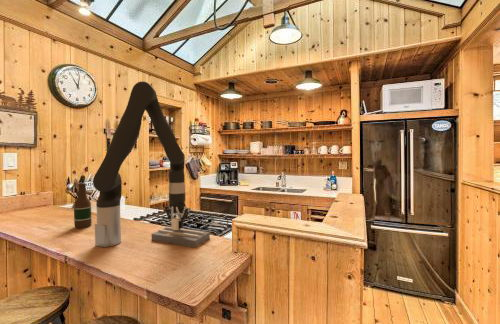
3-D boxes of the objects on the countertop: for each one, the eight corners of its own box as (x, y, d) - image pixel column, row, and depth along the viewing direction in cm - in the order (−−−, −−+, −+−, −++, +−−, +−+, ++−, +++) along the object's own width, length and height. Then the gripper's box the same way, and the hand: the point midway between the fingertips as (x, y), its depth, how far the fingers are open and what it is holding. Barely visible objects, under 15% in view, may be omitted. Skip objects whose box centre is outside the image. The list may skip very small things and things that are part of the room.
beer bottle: (83, 229, 130) (81, 184, 128) (70, 228, 131) (69, 184, 130) (95, 225, 137) (93, 182, 136) (83, 224, 139) (82, 182, 138)
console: (195, 247, 105) (195, 238, 105) (151, 240, 114) (151, 231, 114) (209, 238, 117) (209, 230, 116) (169, 232, 125) (168, 224, 125)
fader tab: (176, 234, 113) (176, 219, 113) (171, 233, 114) (171, 218, 114) (183, 230, 118) (183, 216, 117) (178, 229, 119) (178, 216, 118)
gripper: (159, 192, 114) (160, 228, 115) (184, 193, 109) (185, 232, 110) (170, 189, 121) (170, 223, 122) (194, 191, 116) (194, 227, 117)
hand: (177, 227), depth 116 cm, fingers closed on fader tab, 3 cm apart
